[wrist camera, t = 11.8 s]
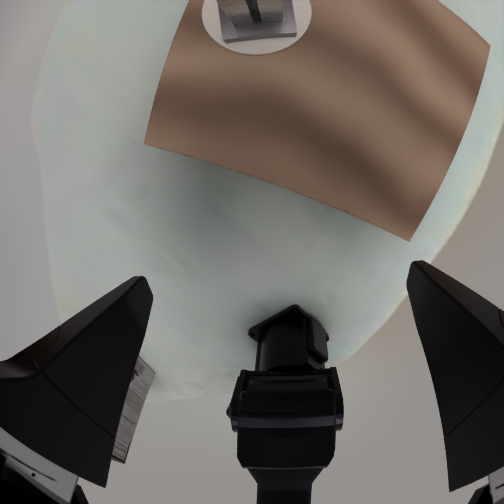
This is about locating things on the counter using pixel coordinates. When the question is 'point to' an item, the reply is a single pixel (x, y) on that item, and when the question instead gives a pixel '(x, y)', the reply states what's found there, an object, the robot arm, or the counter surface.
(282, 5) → the metal handle
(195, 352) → the counter surface
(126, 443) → the coffee box
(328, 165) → the walnut board
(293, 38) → the trivet
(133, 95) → the counter surface
